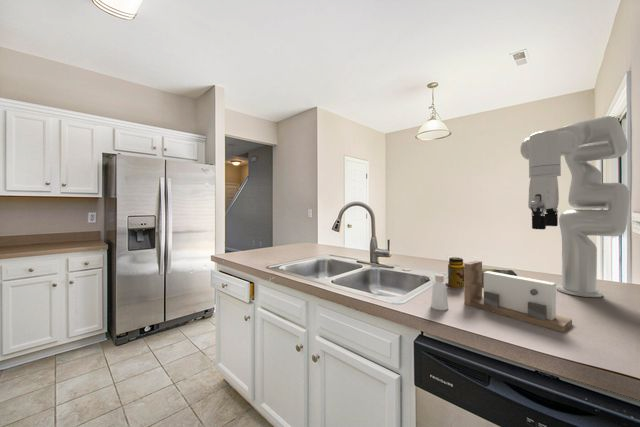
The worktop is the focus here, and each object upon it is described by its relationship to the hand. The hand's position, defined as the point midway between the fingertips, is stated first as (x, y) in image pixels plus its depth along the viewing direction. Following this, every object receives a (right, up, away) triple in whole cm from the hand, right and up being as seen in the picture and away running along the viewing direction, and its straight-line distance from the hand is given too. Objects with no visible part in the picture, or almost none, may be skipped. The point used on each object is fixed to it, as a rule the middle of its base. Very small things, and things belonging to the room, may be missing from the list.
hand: (545, 227), depth 84 cm
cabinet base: (-9, -27, 0) cm, 28 cm away
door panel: (-9, -25, 0) cm, 27 cm away
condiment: (-14, -27, +29) cm, 42 cm away
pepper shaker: (-30, -27, +6) cm, 41 cm away
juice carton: (+3, -26, +33) cm, 43 cm away
